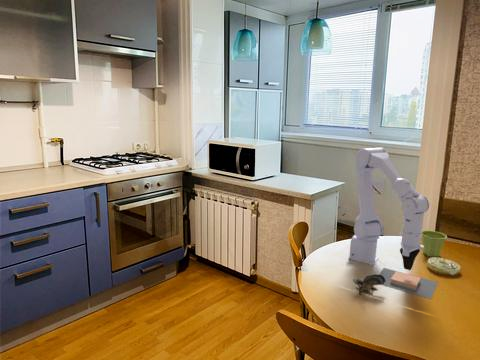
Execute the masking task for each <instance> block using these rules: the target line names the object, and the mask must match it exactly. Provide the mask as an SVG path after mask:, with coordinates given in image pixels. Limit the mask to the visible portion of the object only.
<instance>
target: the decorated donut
mask: <svg viewBox="0 0 480 360" xmlns="http://www.w3.org/2000/svg"><path fill="white" fill-rule="evenodd" d="M426 262H427V263H426V266H427V268H428V269H429V270H430V271H432V272H434V273H436V274H439V275H444V276H458V275H459V274H461V273H460V272H461V265H459V264H458V263H457V262H455V261H453V260H450V259H447V258H443V257H437V256H435V257H430V258H428V259H427V261H426Z"/></svg>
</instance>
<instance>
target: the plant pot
mask: <svg viewBox="0 0 480 360" xmlns="http://www.w3.org/2000/svg"><path fill="white" fill-rule="evenodd" d="M447 238H448V236H447V234H445V233H443V232H440V231H434V230H422V234H421V240H422V245H423V246H424V248H423V249H422V254H424V255H425V256H428V257H430V258H434V257H436V258H440V255H441V251H442V248H443V246H444V244H445V243H444V242H445V241H446V239H447Z"/></svg>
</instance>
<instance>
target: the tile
mask: <svg viewBox="0 0 480 360" xmlns="http://www.w3.org/2000/svg"><path fill="white" fill-rule="evenodd" d="M395 271H396V272H395V273H394V275H393V276H392V278H391V282H390V283H392V284H395V285H399V286H402V287H406V288H409V289H413V290H416V289H417V287H418V285H419V283H420V278H419V277H420V276H417V277H416V275H413V276H412V274H409V273H406V274H404V273H405V272H402V273H400V272H401V271H398V270H395ZM397 271H398V272H397ZM408 274H409V275H408Z"/></svg>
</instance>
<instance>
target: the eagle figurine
mask: <svg viewBox="0 0 480 360" xmlns="http://www.w3.org/2000/svg"><path fill="white" fill-rule="evenodd" d="M385 281H386V280H385V278H384V277H383V276H381V275H379V274H376V273H375V274H370V275H367V276H365V278H364V279H363V281H362V280H361V279H360V278H353V279H352V282H353V283H354V284H355V285H357V286H358V287H355V289H356V290H358V296H360V295H362V294H363V292H364V291H367V292H368V293H369V294H371V295H373V294H374V292H373V290H372V289H375V290H379V289H378V288H376V287H375V286H383V285H382V284H384V283H385Z"/></svg>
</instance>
